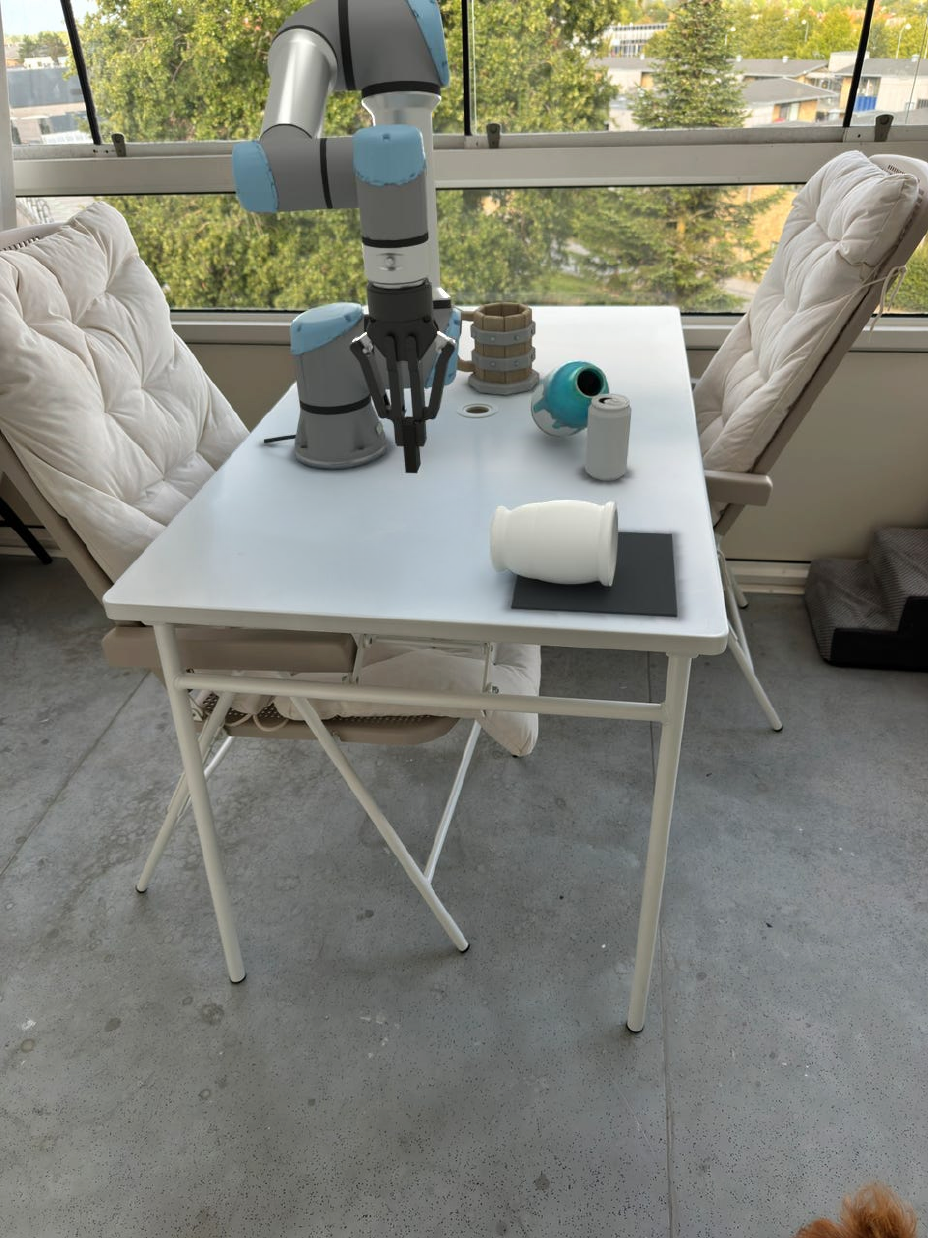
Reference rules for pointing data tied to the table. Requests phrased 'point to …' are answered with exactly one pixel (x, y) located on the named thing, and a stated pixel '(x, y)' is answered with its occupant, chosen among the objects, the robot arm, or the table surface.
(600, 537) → the jar
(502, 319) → the tankard
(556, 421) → the vase
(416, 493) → the table surface
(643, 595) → the mat
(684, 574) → the table surface
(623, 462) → the beverage can
